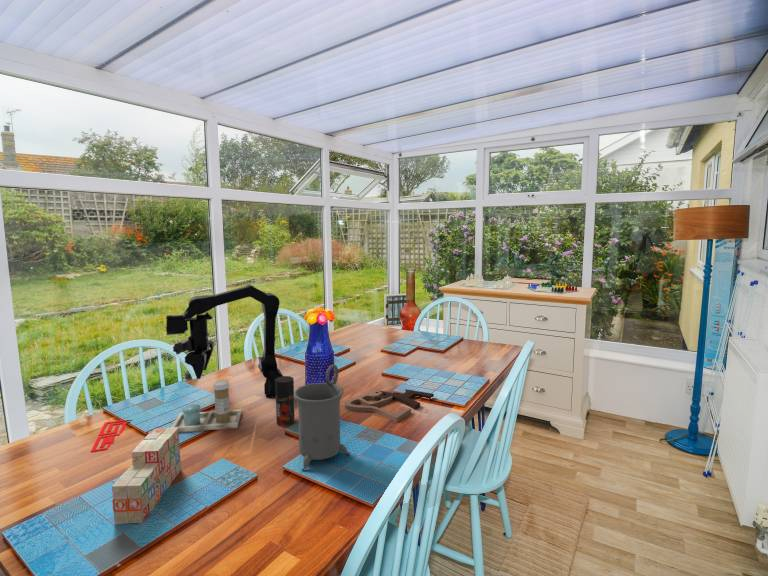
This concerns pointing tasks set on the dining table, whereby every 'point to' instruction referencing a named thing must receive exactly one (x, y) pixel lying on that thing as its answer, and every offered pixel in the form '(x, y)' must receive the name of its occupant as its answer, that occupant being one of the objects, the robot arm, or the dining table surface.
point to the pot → (191, 414)
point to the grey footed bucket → (319, 419)
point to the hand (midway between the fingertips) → (201, 374)
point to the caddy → (208, 422)
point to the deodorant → (284, 400)
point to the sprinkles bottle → (222, 401)
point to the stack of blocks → (147, 476)
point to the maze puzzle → (108, 440)
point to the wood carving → (385, 402)
